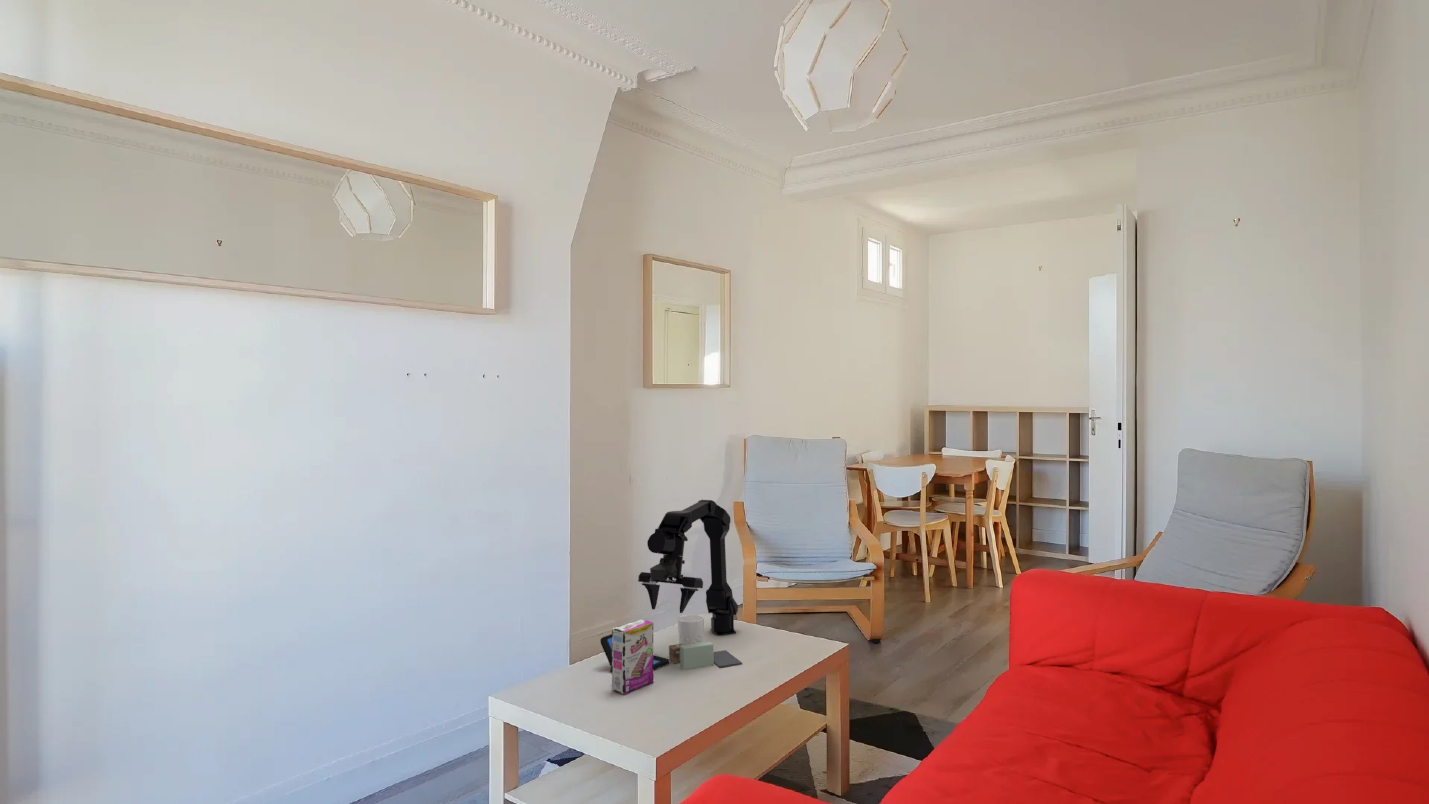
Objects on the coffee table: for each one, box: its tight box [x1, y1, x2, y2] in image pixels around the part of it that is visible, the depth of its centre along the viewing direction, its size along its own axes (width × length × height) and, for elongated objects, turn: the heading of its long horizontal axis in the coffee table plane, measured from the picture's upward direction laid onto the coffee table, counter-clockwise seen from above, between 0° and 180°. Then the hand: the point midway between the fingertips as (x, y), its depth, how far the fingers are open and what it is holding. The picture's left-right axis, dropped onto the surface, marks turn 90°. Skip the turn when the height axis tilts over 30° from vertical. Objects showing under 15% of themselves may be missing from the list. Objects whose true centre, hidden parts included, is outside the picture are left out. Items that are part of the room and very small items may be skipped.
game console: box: [600, 633, 670, 673], centre depth 217 cm, size 16×14×9 cm
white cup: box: [677, 614, 705, 645], centre depth 229 cm, size 8×8×10 cm
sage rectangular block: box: [679, 641, 715, 671], centre depth 216 cm, size 9×3×6 cm, turn 112°
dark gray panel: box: [714, 649, 743, 669], centre depth 221 cm, size 7×12×1 cm, turn 22°
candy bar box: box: [611, 619, 654, 695], centre depth 201 cm, size 11×5×16 cm, turn 141°
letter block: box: [668, 643, 683, 664], centre depth 221 cm, size 4×4×4 cm
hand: (667, 611), depth 217 cm, fingers open, 9 cm apart
